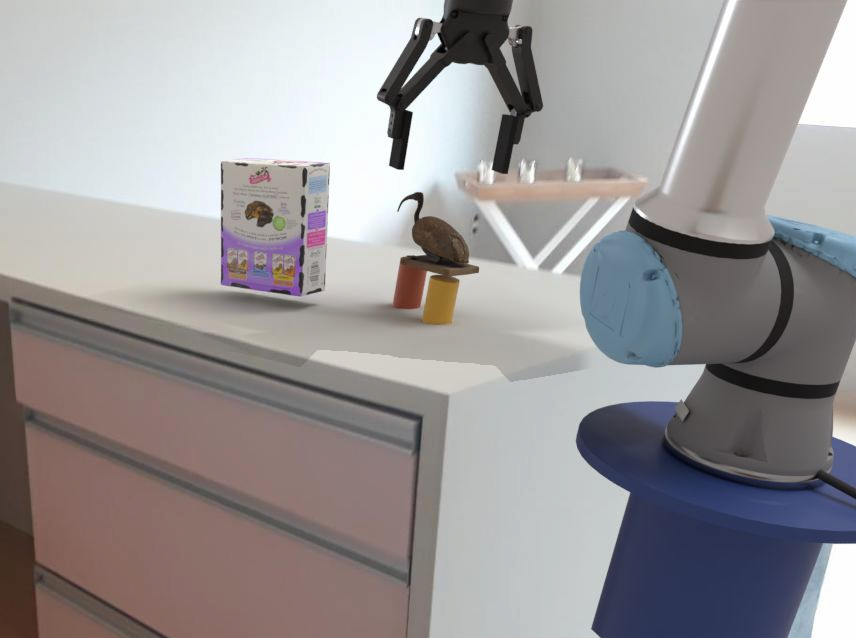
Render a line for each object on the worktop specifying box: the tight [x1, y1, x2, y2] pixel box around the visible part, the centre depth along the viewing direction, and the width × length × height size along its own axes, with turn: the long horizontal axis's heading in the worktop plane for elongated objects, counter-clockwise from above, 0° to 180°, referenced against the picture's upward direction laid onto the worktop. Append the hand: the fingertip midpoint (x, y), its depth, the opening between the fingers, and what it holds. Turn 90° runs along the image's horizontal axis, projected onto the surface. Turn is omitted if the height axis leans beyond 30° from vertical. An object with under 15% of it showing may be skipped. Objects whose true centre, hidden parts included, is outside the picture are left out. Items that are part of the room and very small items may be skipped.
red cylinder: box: [391, 255, 428, 310], centre depth 150 cm, size 4×4×7 cm
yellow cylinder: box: [421, 274, 461, 325], centre depth 142 cm, size 4×4×7 cm
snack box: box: [220, 157, 331, 297], centre depth 151 cm, size 14×6×16 cm, turn 47°
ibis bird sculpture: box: [396, 191, 480, 277], centre depth 143 cm, size 14×4×9 cm, turn 25°
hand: (448, 170), depth 139 cm, fingers open, 13 cm apart
